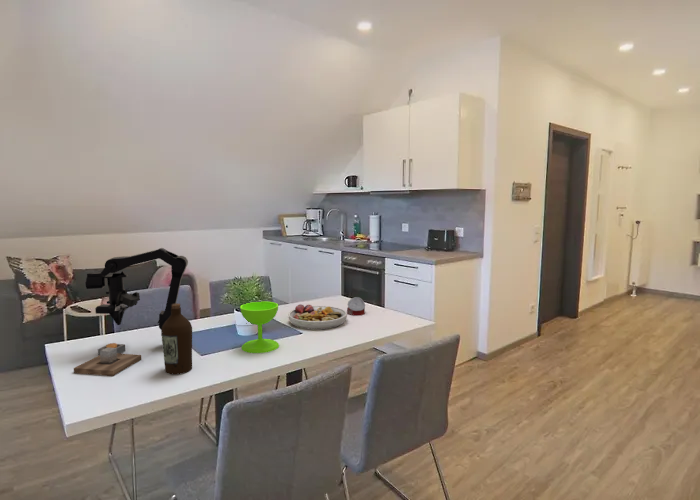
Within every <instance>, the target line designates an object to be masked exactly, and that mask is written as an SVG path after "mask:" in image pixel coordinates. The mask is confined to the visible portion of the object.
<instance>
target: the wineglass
mask: <svg viewBox="0 0 700 500" xmlns="http://www.w3.org/2000/svg"><path fill="white" fill-rule="evenodd" d="M239 308H240V313H241V315H242V317H243V319H244V318H245V319H246V320H247V321H248V322H250V323H251V324H252V325H255V326H256V325H257V338H256V339H251V340H248V341H246V342H245V343H243V344H242V345H241V350H242V351H243V352H244V353H249V354H263V353H269V352H273V351H275V350H277V349H278V348H279V347H280V344H279V342H277V341H276V340H274V339H269V338H263V325H266V324H268V323H270V322H271V321H272V320H273V319H274V318H275V317H276V315H277V313H278V310H279V304H278V303H277V302H273V301H262V300H261V302H250V303H246V304H244V303H243V304H242V305H240V306H239Z"/></svg>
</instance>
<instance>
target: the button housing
mask: <svg viewBox="0 0 700 500" xmlns="http://www.w3.org/2000/svg"><path fill="white" fill-rule="evenodd" d="M109 344H111V343H109ZM105 348H106V345H104V346H102V347H99V348H98V349H97V354H98V355H97V356H99V355H100V351H101V350H103V349H105ZM116 348H117V353H120V354H124V353H125V352H126V349H127V348H126V344H124V343H117V347H116Z"/></svg>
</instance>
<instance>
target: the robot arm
mask: <svg viewBox="0 0 700 500" xmlns="http://www.w3.org/2000/svg"><path fill="white" fill-rule="evenodd" d="M154 260H162V261H163V262H164V263H166V264H168V265H169V266H171V271H170V272H171V280H170V285H169V290H168V294H167V300H166V304H165V309H164V310H161V311H160V312H159V314H158V317H159V318H158V321H157V324H158V328H159V329H160V331H161V330H162V326H163V324H164V323H165V321H166V320H167V319H168V318H169V317H170V316H171V305H172V304H176V303H177V301H178V297H179V292H180V287H181V283H182V278H183V276H184V273H185V272H186V269H187V267H188V264H189V260H188V258H187V257H185V256H184V255H178V254H176V253H174V252H171V251H169V250H167V249H165V248H163V247H161V248H158V249H154V250H150V251H146V252H142V253H138V254H134V255H129V256H128V255H127V256H116V257H115V256H114V257H111V258H110V259H107V260H106V261H105V262H104V268H103V269H102V270H101V272H87V273H86V278H85V287H86V288H85V289H86V290H87V291H88V290H104V289H105V287H107V290H106V291H105V294H106V295H108V300H107V301H106V304H105V303H103V304H100V305H97V306H96V307H95V309H94V311H95V314H98V315H99V314H100V315H108V314H109V315H110V316H111V318H112V320H113V321H114V323H115V324H116V325H117V326H120V325H121V324H122V321H123V318H124V317H123V316H124V314H125V312H126V310H128V309H129V308H132V307H134V306H137V305H138V301H140V300H141V299H140V296H141V295H140V293H139V292H137V291H135V292H133V293H128V290H127V289H125V286H124V285H125V284H124V283H125V282H124V278H127V277H128V276H129V274H128V273H127V272H125V270H124V269H126V268H128V267H131V266H135V265H139V264H142V263H147V262H151V261H154ZM119 271H121V272H119ZM110 274H111V275H110Z"/></svg>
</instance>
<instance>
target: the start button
mask: <svg viewBox="0 0 700 500" xmlns="http://www.w3.org/2000/svg"><path fill="white" fill-rule="evenodd" d="M117 344H118V343H116V342H112V343H111V344H110V343H108V344H106V345H105V346H106V348H107V347H109V348H116V347H117Z"/></svg>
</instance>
